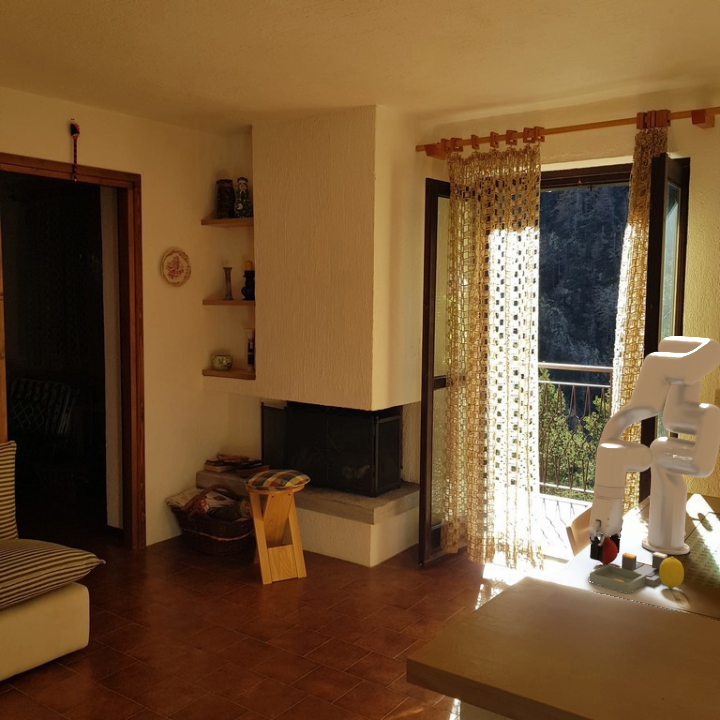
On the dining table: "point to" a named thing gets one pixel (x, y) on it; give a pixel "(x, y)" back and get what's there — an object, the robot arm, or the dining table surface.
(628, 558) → the block
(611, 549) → the onion
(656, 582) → the breaker panel
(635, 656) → the dining table surface
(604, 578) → the tray
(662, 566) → the lemon
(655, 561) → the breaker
